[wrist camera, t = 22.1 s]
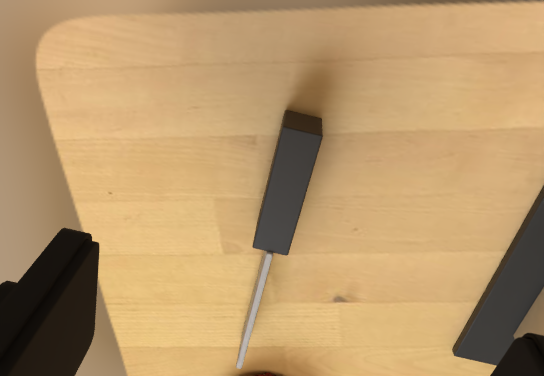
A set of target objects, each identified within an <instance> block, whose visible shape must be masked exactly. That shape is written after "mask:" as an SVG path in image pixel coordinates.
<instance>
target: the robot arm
mask: <svg viewBox="0 0 544 376" xmlns="http://www.w3.org/2000/svg"><path fill="white" fill-rule="evenodd" d="M98 263H99V243H98V242H94V241H92V236H91V234H89V233H85V232H81V231H76V230H72V229H67V228H63V229H61V230H60V231H59V233H58V234H57V235H56V236H55V237H54V238H53V240H52V241H51V242H50V243H49V245H48V246H47V247H46V248H45V250H44V251H43V252H42V253H41V255H40V256H39V257H38V258H37V259H36V261H35V262H34V263H33V264H32V266H31V267H30V268H29V269H28V270H27V272H26V273H25V274H24V275H23V277H22V278H21V279H20V280H19V282H18V283H16V282H11V281H6V282H3V283H2V284H1V285H0V376H75V374H76V372H77V370H78V368H79V366H80V364H81V363H82V361H83V359H84V357H85V355H86V353H87V351H88V349H89V347H90V345H91V342H92V339H93V336H94V330H95V313H96V296H97V279H98ZM491 376H544V336H543V335H539V334H534V333H526V334H524V335H523V336H522V337H518V338H516V339H515V340H514V341H513V343H512V344H511V346H510V347H509V349H508V350H507V352H506V353H505V355H504V356H503V358H502V359H501V361H500V362H499V364H498V365H497V367H496V368H495V370H494V371H493V373H492V374H491Z"/></svg>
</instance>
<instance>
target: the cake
mask: <svg viewBox="0 0 544 376" xmlns="http://www.w3.org/2000/svg"><path fill="white" fill-rule="evenodd" d="M526 333H534V334H539V335H543V336H544V187H543V189H542V190H541V192H540V194H539V196H538V198H537V199H536V201H535V203H534V205H533V207H532V208H531V210H530V212H529V214H528V216H527V217H526V219H525V221H524V223H523V224H522V226H521V228H520V230H519V232H518V233H517V235H516V237H515V239H514V241H513V242H512V244H511V246H510V248H509V249H508V251H507V253H506V255H505V257H504V258H503V260H502V262H501V264H500V266H499V267H498V269H497V271H496V273H495V274H494V276H493V278H492V280H491V282H490V283H489V285H488V287H487V289H486V291H485V292H484V294H483V296H482V298H481V299H480V301H479V303H478V305H477V307H476V308H475V310H474V312H473V314H472V316H471V317H470V319H469V321H468V323H467V324H466V326H465V328H464V330H463V332H462V333H461V335H460V337H459V339H458V341H457V342H456V344H455V346H454V348H453V349H452V351H453V354H454V356H457V357H461V358H466V359H470V360H475V361H479V362H484V363H488V364H493V365H498V364H499V362H500V361H501V359H502V358H503V356H504V355H505V353H506V352H507V350H508V349H509V347H510V346H511V344H512V343H513V341H514V340H515V339H516V338H518V337H522V336H523V335H524V334H526Z"/></svg>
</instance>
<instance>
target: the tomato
mask: <svg viewBox="0 0 544 376" xmlns="http://www.w3.org/2000/svg"><path fill="white" fill-rule="evenodd" d="M265 375H266V376H275V375H272V374H270V373H265ZM265 375H263V374H261V375H256V376H265Z"/></svg>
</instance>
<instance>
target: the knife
mask: <svg viewBox="0 0 544 376" xmlns="http://www.w3.org/2000/svg"><path fill="white" fill-rule="evenodd" d="M322 137H323V134H322V119H321V118H317V117H313V116H308V115H304V114H300V113H296V112H292V111H288V110H285V112H284V116H283V120H282V124H281V129H280V133H279V137H278V141H277V145H276V149H275V153H274V157H273V161H272V165H271V169H270V173H269V177H268V181H267V185H266V189H265V193H264V197H263V201H262V205H261V209H260V213H259V217H258V222H257V226H256V231H255V236H254V242H253V248H256V249H260V250H264V253H263V257H262V260H261V264H260V268H259V272H258V276H257V279H256V283H255V287H254V291H253V295H252V298H251V302H250V306H249V310H248V313H247V317H246V321H245V325H244V329H243V332H242V336H241V342H240V347H239V353H238V359H237V364H236V368H239V369H241V368H242V365H243V361H244V358H245V354H246V351H247V347H248V343H249V340H250V336H251V332H252V329H253V325H254V322H255V318H256V314H257V311H258V307H259V303H260V300H261V296H262V293H263V289H264V285H265V282H266V278H267V274H268V271H269V267H270V264H271V260H272V256H273V252H274V253H278V254H282V255H288V253H289V250H290V246H291V243H292V239H293V236H294V233H295V229H296V226H297V222H298V219H299V216H300V212H301V209H302V205H303V202H304V199H305V195H306V192H307V188H308V185H309V182H310V178H311V175H312V171H313V168H314V165H315V161H316V158H317V154H318V151H319V148H320V144H321V141H322Z"/></svg>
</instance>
